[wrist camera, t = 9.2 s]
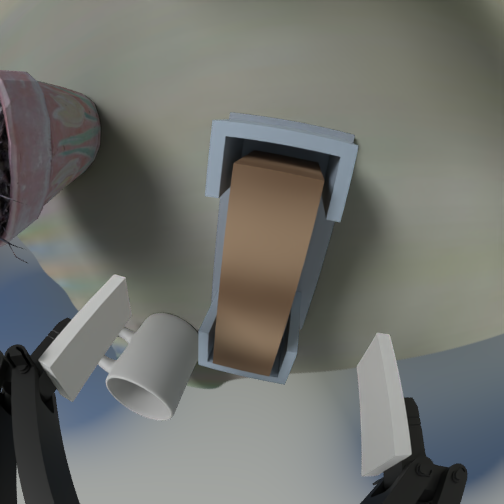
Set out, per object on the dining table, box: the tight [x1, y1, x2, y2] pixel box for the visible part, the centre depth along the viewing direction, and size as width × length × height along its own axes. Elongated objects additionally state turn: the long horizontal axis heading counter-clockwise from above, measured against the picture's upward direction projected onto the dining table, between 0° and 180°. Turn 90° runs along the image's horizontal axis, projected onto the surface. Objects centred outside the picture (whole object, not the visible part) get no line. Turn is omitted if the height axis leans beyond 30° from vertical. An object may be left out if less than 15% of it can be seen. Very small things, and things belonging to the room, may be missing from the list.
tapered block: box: [213, 150, 324, 376], centre depth 19 cm, size 15×4×6 cm, turn 172°
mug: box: [98, 313, 199, 421], centre depth 30 cm, size 12×8×11 cm
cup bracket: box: [198, 112, 358, 384], centre depth 21 cm, size 20×10×9 cm, turn 172°
